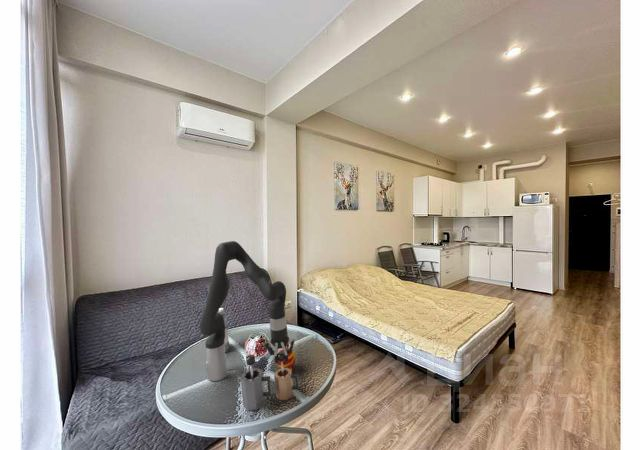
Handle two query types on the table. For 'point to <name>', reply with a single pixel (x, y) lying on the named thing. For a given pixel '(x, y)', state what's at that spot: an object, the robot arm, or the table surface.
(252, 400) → the steel press carafe
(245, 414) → the table surface
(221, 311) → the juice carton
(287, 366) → the potion bottle
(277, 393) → the tan handled cylinder
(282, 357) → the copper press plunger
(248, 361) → the steel press plunger
